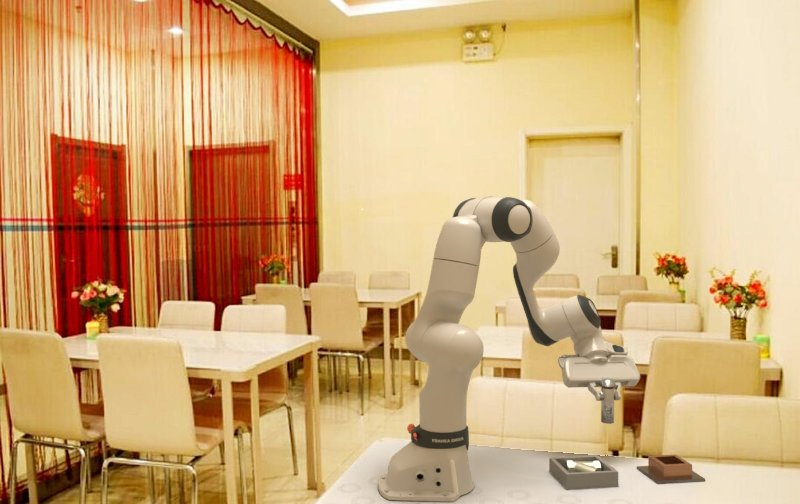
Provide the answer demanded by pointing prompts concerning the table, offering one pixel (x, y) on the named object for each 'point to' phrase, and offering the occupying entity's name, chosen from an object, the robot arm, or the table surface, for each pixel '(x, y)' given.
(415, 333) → the robot arm
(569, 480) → the parts corral
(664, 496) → the table surface
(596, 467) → the pipe fitting
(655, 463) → the collar
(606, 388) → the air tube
